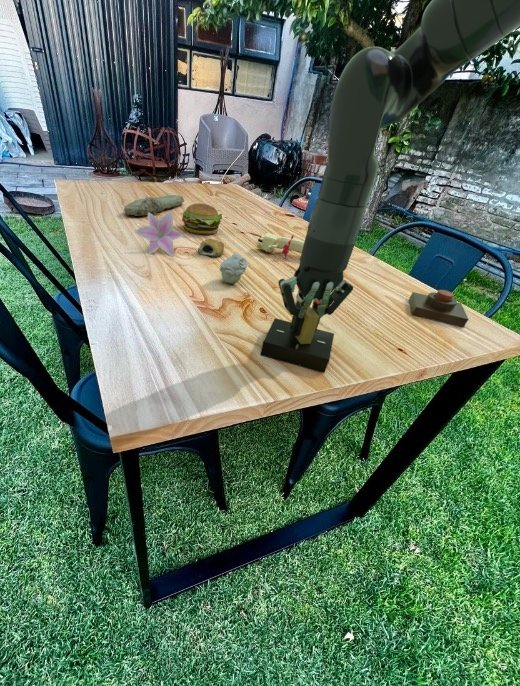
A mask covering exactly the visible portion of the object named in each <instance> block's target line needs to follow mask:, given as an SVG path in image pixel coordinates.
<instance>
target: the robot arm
mask: <svg viewBox="0 0 520 686" xmlns="http://www.w3.org/2000/svg"><path fill="white" fill-rule="evenodd" d="M421 16H422V17H421V21H420V26H419V27H418V28H417V29H416V30H415V31H414V32H413V34H411V35H410V36H409V37H408V38H407V40H406V41H404V42H403V43H402V44H401V45H400V46H399V47H398V48H397V49H396V50H394V51H393V52H391V51H389V50H388V49H386V48H384V47H381V46H369V47H366V48H363V49H361V50H360V51H358V52H357V53H356V54H355V55H353V57H351V58H350V60H349V61H348V62H347V64H346V65H345V66H344V68H343V70H342V72H341V74H340V76H339V79H338V80H337V83H336V86H335V89H334V92H333V96H332V102H331V106H330V115H329V123H328V124H329V126H328V138H327V150H326V151H327V153H326V154H327V155H326V165H325V168H324V172H323V175H322V178H321V183H320V187H319V191H318V195H317V198H316V202H315V204H314V207H313V209H312V211H311V215H310V219H309V222H308V224H307V230H306V234H305V238H304V245H303V249H302V253H300V257H299V264H298V265H299V266H298V267H297V269H296V270H295V272H294V274H293V276H291V277H289V278H286V279H284V278H280V279H279V280H278V282H277V283H278V287H279V290H280V295H281V298H282V302H283V305H284V308H285V309H286V310H287V312H288V313H289V315H291V316H292V318H291V321H290V322H291V325H290V330H291V331H292V333H293V334H294V335H295V336H299V335H300V332H301V329H302V325H303V322H304V316H305V314H306V311H307V309H308V307H311V308H312V309H313V310H314V311H315V312H316V313H317V315H318V316H319V320H318V323H317V326H316V329H315V332H316V330H317V329H318V327H319V324H320V321H321V319H322V318H323V317H324V316H325V315H328V316H331V315H333V313H334V312H335V311H336V310H337V309H338V308H339V306H341V304H342V303H343V302H344V301H345V300H346V299H347V298H348V296H349V295H350V294H351V293H352V292H353V290H354V286H353V285H352V284H351V283H350V282H349V281H347V280H346V279H344V278H345V277H344V271H346V270H347V267H348V265H349V262H350V259H351V257H352V254H353V251H354V247H355V245H356V241H357V239H358V237H359V233H360V230H361V227H362V224H363V220H364V216H365V212H366V208H367V205H368V202H369V200H370V196H371V194H372V190H373V187H374V184H375V181H376V178H377V175H378V171H379V160H378V158H377V157H376V156H375V150H376V147H377V141H378V136H379V133H380V130H382V129H384V128H386V127H389V126H391V125H392V124H394V123H396V122H397V121H399V120H401V119H402V118H404V117H405V116H406V115H408V114H409V113H410V112H412V111H413V110H414V109H415V108H416V107H417V106H419V105H420V104H421V103H423V101H425V100H426V99H427V98H428V97H429V96H430V95H431V94H432V93H433V92H434V91H436V90H437V89H438V87H440V86H441V85H442V84H443V83H444V82H446V80H447V79H448V78H449V77H450V76H451V75H452V74H454V73H455V72H456V71H458V70H459V69H461V68H462V67H464V66H466V65H467V64H469V63H470V62H472V61H473V60H474V59H476V58H477V57H478V56H480V55H481V54H482V53H484V52H485V51H487V50H489V49H490V48H491V47H494V45H496V44H497V43H498V42H500V41H501V40H503V39H504V38H505V37H506V36H508V35H509V34H511V33H512V32H514V31H515V30H516V29H518V28H519V27H520V0H431V1H430V2H429V3H428V5H427V6H426V7H425V9H424V12H423V14H422V15H421ZM296 286H297V289H298V291H297V293H296V296H295V298H294V295H293V293H294V292H295V291H296V289H295V288H296ZM315 332H314V333H315Z"/></svg>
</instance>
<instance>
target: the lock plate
mask: <svg viewBox="0 0 520 686" xmlns="http://www.w3.org/2000/svg"><path fill="white" fill-rule="evenodd" d="M290 325H291V321H287V320H285V319H280V318H276V317H275V318H274V319H273V321H272V323H271V325H270V327H269V329H268V331H267V333H266V335H265V337H264V339H263V342H262V345H261V350H260V356H263V357H266V358H270V359H274V360H277V361H281V362H284V363H287V364H292V365H294V366H298V367H301V368H305V369H309V370H313V371H316V372H320V373H325V372H326V370H327V368H328V365H329V362H330V359H331V355H332V354H331V353H332V348H333V342H334V337H335V333H334V332H330V331H326V330H323V329H318V328H317V330H316V332H315V333H314V335H313V338H312V341H311V344H300V342H299V341H298V340H297V338H296V337H295V335H294V334H293V333H292V331H291V330H290Z"/></svg>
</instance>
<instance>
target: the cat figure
mask: <svg viewBox="0 0 520 686" xmlns="http://www.w3.org/2000/svg"><path fill="white" fill-rule="evenodd" d="M294 237H295V234H292V235H291V237H287V236H279V235H277V234H274V233H271V232H266V233H265V235H261V236H259V238H258V239H257V241H256V242H255V245H256V247H257V248H258V249H261V250H263V251H265V252H267V253H272V252H274V251H275V249H279V250H282V251H281V253H282V254H283V255H284V258H285V259H287V255H288V254H289V252H296V253H299V254H301V253H302V249H303V245H304V242H305V240H304V241H303V240H300V239H297V238H294Z"/></svg>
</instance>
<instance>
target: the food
mask: <svg viewBox="0 0 520 686" xmlns="http://www.w3.org/2000/svg"><path fill="white" fill-rule="evenodd" d="M180 215H182V218H181V221H182V222H183V224H184V225H183V228H184V229H185V230H186V231H187V232H189V233H192V234H196V235H206V236H207V235H214V234H216V233H218V231H219V226H220V224H221V222H222V220H223V219H222V218H223V213H219V211H218V210H217V209H216V207H214V206H212V205H210V204H206V203H198V202H197V203H193V204H190V205H188V206H187V207H186V209H185V210H183V212H180Z"/></svg>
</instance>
